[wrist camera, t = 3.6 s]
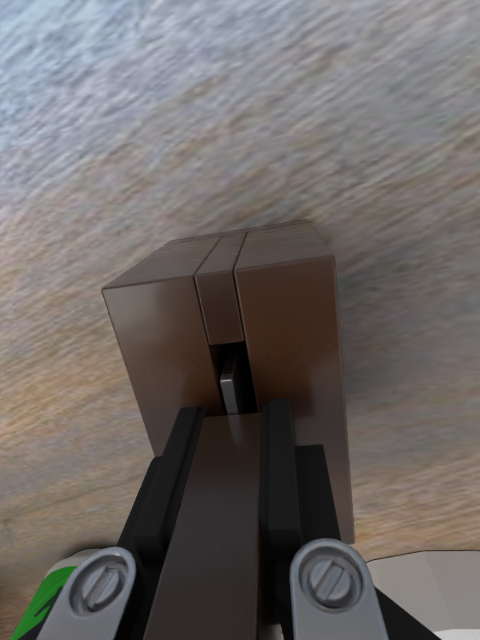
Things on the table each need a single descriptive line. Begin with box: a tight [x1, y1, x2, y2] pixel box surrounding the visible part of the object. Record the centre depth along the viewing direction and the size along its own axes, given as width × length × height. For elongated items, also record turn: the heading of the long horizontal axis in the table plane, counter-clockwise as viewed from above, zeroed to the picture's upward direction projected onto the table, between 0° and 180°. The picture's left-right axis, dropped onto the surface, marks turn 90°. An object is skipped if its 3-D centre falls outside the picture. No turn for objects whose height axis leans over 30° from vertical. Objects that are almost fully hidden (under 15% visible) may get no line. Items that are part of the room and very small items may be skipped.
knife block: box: [102, 219, 355, 545], centre depth 14 cm, size 10×6×7 cm, turn 9°
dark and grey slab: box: [143, 339, 281, 640], centre depth 11 cm, size 5×2×12 cm, turn 9°
